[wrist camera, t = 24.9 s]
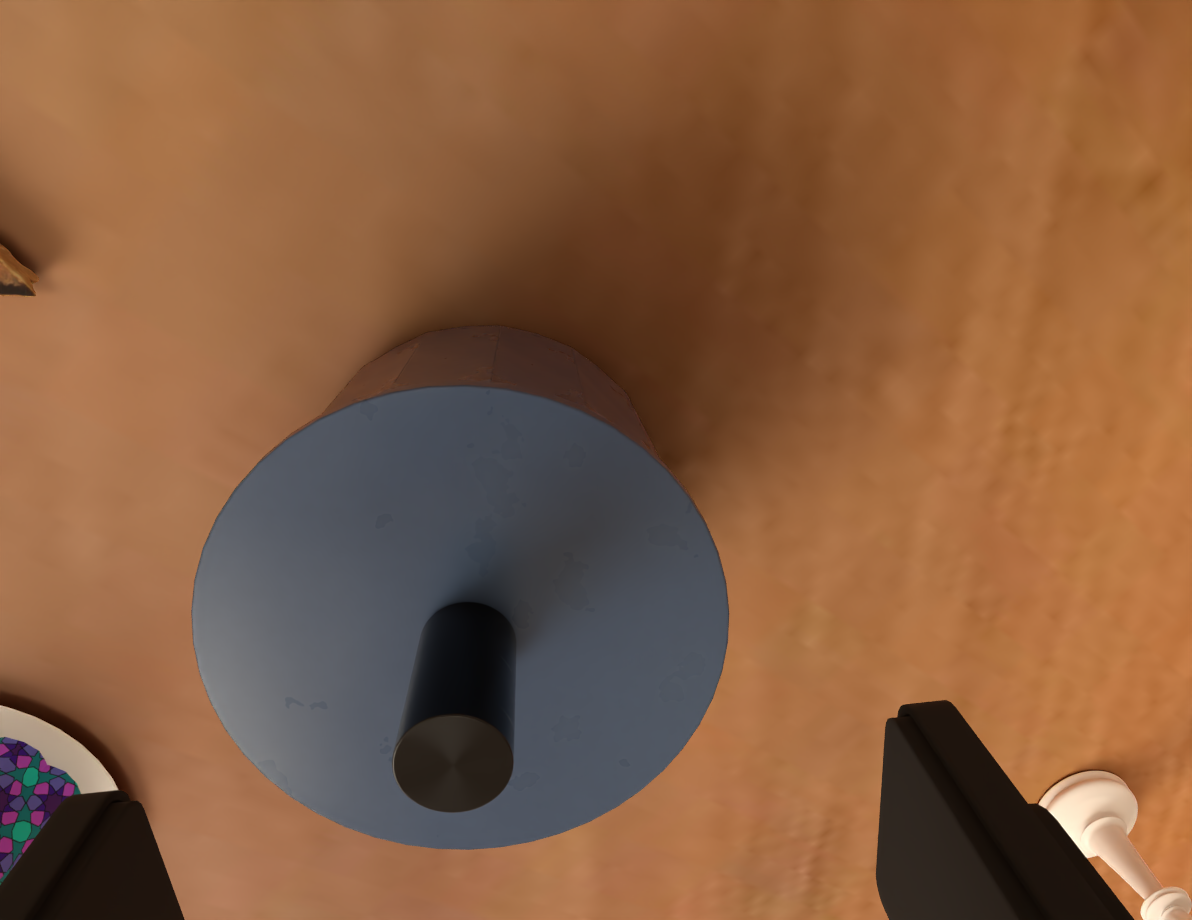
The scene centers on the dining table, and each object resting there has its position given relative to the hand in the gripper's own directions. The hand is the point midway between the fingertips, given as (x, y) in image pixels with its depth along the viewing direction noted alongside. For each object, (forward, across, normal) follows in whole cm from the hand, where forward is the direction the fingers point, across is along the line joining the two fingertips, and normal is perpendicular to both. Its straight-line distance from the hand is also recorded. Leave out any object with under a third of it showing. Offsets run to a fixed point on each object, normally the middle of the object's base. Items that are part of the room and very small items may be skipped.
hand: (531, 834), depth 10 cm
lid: (+12, +2, +4) cm, 12 cm away
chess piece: (+22, -25, +24) cm, 41 cm away
